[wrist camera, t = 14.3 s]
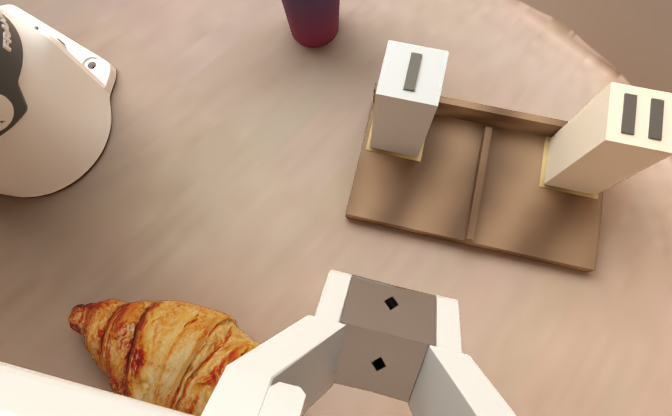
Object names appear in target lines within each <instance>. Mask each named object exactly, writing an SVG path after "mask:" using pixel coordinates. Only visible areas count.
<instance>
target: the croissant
mask: <svg viewBox="0 0 672 416" xmlns="http://www.w3.org/2000/svg"><path fill="white" fill-rule="evenodd" d="M68 321H69V324H70V327H71V328H72V329H73V330H75V331H76V332H78V333H80V334H82V335H83V336H85V345H86V349H87V350H88V352H89V353H90V354H91V356H92V359H94V361H95V362H96V364H97V365H98V366H99V368H100V369H102V370H103V372H104V373H105V374H106V375H107V376H108V377H109V378H110V381H109V384H110V386H111V387H112V389H113V391H114V393H115V394H119V395H123V396H126V397H130V398H133V399H137V400H140V401H144V402H148V403H151V404H155V405H158V406H162V407H166V408H169V409H173V410H176V411H180V412H183V413H187V414H191V415H194V416H201V414H202V412H203V411H204V409H205V407H206V405H207V403H208V401H209V399H210V397H211V395H212V393H213V391H214V389H215V387H216V385H217V383H218V381H219V379H220V378H221V376H222V374H223V372H224V370H225V368H226V366H227V365H228V364H230V363H232V362H233V361H235V360H236V359H238V358H240V357H241V356H243V355H245V354H246V353H248V352H249V351H251V350H253V349H254V348H256V347H257V346H259V344H258V343H256V342H254V341H253V340H252V339H250V338H249V337H248V336H247V335H246V334H245V333H244V332H243V331H241V330H240V329H238V328H237V327H236V321H235V320H234V319H233V318H232V317H231V316H230V315H227V314H225V313H221V312H219V311H216V310H212V309H209V308H206V307H202V306H198V305H194V304H191V303H187V302H182V301H139V302H133V303H125V302H122V301H120V300H113V299H108V300H104V301H101V302H98V303H90V304H87V305H83V304H80V305H77V306H75V307H74V308H73V309H72V311H71V314H70V316H69V319H68Z"/></svg>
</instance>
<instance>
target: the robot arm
mask: <svg viewBox="0 0 672 416" xmlns="http://www.w3.org/2000/svg"><path fill="white" fill-rule="evenodd" d="M94 66H96V67H95V68H93V67H94ZM92 68H93V69H92ZM115 79H116V69H115V68H114V67H113V66H112V65H111V64H110V63H109V62H107V61H106V60H104V59H103V58H101V57H99V56H98V55H96V54H94V53H93V52H91V51H89V50H88V49H86V48H84V47H83V46H81V45H79V44H78V43H76V42H74V41H73V40H71V39H69V38H68V37H66V36H64V35H63V34H61V33H59V32H58V31H56V30H55V29H53V28H51V27H50V26H48V25H46V24H45V23H43V22H41V21H40V20H38V19H36V18H35V17H33V16H31V15H30V14H28V13H26V12H25V11H23V10H21V9H20V8H18V7H16V6H14V5H10V4H9V5H3V6H0V194H5V195H10V196H16V197H36V196H42V195H46V194H50V193H53V192H55V191H58V190H60V189H62V188H64V187H66V186H68V185H70V184H71V183H73V182H74V181H76V180H77V179H78V178H80V177H81V176H82V175H83V174H84V173H86V172H87V171H88V170H89V168H90V167H91V166H92V165H93V164H94V163H95V161H96V160H97V159H98V157H99V156H100V154H101V152H102V151H103V149H104V147H105V144H106V142H107V139H108V136H109V133H110V127H111V107H110V94H111V91H112V88H113V85H114V82H115ZM351 276H352V278H351ZM334 383H337V384H341V385H345V386H349V387H354V388H358V389H362V390H367V391H371V392H374V393H378V394H381V395H384V396H388V397H391V398H395V399H398V400H402V401H405V402H408V405H409V408H410V410H411V412H412V414H413V416H516V415H515V413H514V412H513V411H512V409H511V408H510V407H509V406H508V404H507V403H506V402H505V400H504V399H503V398H502V397H501V395H500V394H499V393H498V391H497V390H496V389H495V388H494V386H493V385H492V384H491V382H490V381H489V380H488V379H487V377H486V376H485V375H484V373H483V372H482V371H481V370H480V368H479V367H478V366H477V364H476V363H475V362H474V361H473V359H472V358H471V357H470V355H466V354H463V350H462V336H461V323H460V309H459V302H458V300H457V299H453V298H448V297H444V296H439V295H432V294H428V293H423V292H419V291H415V290H411V289H406V288H402V287H398V286H393V285H390V284H386V283H383V282H379V281H375V280H371V279H367V278H364V277H360V276H356V275H351V274H347V273H343V272H339V271H335V270H332V269H331V271H330V272H329V274H328V277H327V280H326V283H325V286H324V289H323V292H322V295H321V298H320V301H319V304H318V307H317V310H316V313H315V316H311V315H307V316H306V317H304V318H303V319H301V320H299V321H298V322H296V323H294V324H293V325H291V326H290V327H288V328H286V329H285V330H283V331H282V332H280V333H278V334H277V335H275V336H274V337H272V338H270V339H269V340H267V341H265V342H264V343H262V344H261V345H259V346H257V347H256V348H254V349H253V350H251V351H249V352H248V353H246V354H245V355H243V356H241V357H240V358H238V359H236V360H235V361H233V362H232V363H230V364H228V365H227V366H226V368H225V370H224V372H223V374H222V376H221V378H220V379H219V381H218V383H217V385H216V387H215V389H214V391H213V393H212V395H211V397H210V399H209V401H208V403H207V405H206V407H205V409H204V411H203V412H202V414H201V416H302V415H303V414H304V413H305V412H306V411H307V410H308V409H309V408H310V407H311V406H312V405H313V404H314V403H315V402H316V401H317V400H318V399H319V398H320V397H321V396H322V395H323V394H324V393H326V392H327V391H328V390H329V389H330V388H331V387H332V386H333V384H334ZM0 416H194V415H191V414H187V413H183V412H180V411H176V410H173V409H169V408H166V407H162V406H158V405H155V404H151V403H148V402H144V401H140V400H137V399H133V398H130V397H126V396H123V395H119V394H115V393H112V392H108V391H105V390H101V389H97V388H94V387H90V386H87V385H83V384H80V383H76V382H72V381H69V380H65V379H62V378H58V377H54V376H51V375H47V374H44V373H40V372H36V371H33V370H29V369H26V368H22V367H19V366H15V365H11V364H8V363H4V362H1V361H0Z"/></svg>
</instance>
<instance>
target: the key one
mask: <svg viewBox="0 0 672 416" xmlns="http://www.w3.org/2000/svg"><path fill="white" fill-rule="evenodd" d="M448 55H449V51H445V50H439V49H434V48H429V47H424V46H418V45H413V44H408V43H402V42H397V41H392V40H388V44H387V49H386V53H385V57H384V61H383V65H382V69H381V73H380V77H379V81H378V86H377V90H376V94H375V104H374V113H373V123H372V132H371V142H370V147H371V148H375V149H380V150H385V151H390V152H394V153H399V154H404V155H409V156H413V157H418V155H419V153H420V150H421V148H422V145H423V143H424V140H425V138H426V135H427V133H428V130H429V128H430V125H431V123H432V120H433V117H434V115H435V112H436V110H437V107H438V104H439V99H440V94H441V89H442V84H443V79H444V74H445V69H446V65H447V60H448Z"/></svg>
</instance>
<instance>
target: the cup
mask: <svg viewBox="0 0 672 416" xmlns="http://www.w3.org/2000/svg"><path fill="white" fill-rule="evenodd" d="M282 3H283V6H284V9H285V13H286V16H287V19H288V22H289V26H290V29H291V32H292V35H293V37H294V38H295V39H296V40H297V41H298V42H299V43H300V44H302V45H305V46H308V47H319V46H323V45H325V44H327V43H329V42H330V41H331V40H332V39H333V38H334V37H335V35H336V34H337V31H338V24H339V3H340V0H282Z"/></svg>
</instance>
